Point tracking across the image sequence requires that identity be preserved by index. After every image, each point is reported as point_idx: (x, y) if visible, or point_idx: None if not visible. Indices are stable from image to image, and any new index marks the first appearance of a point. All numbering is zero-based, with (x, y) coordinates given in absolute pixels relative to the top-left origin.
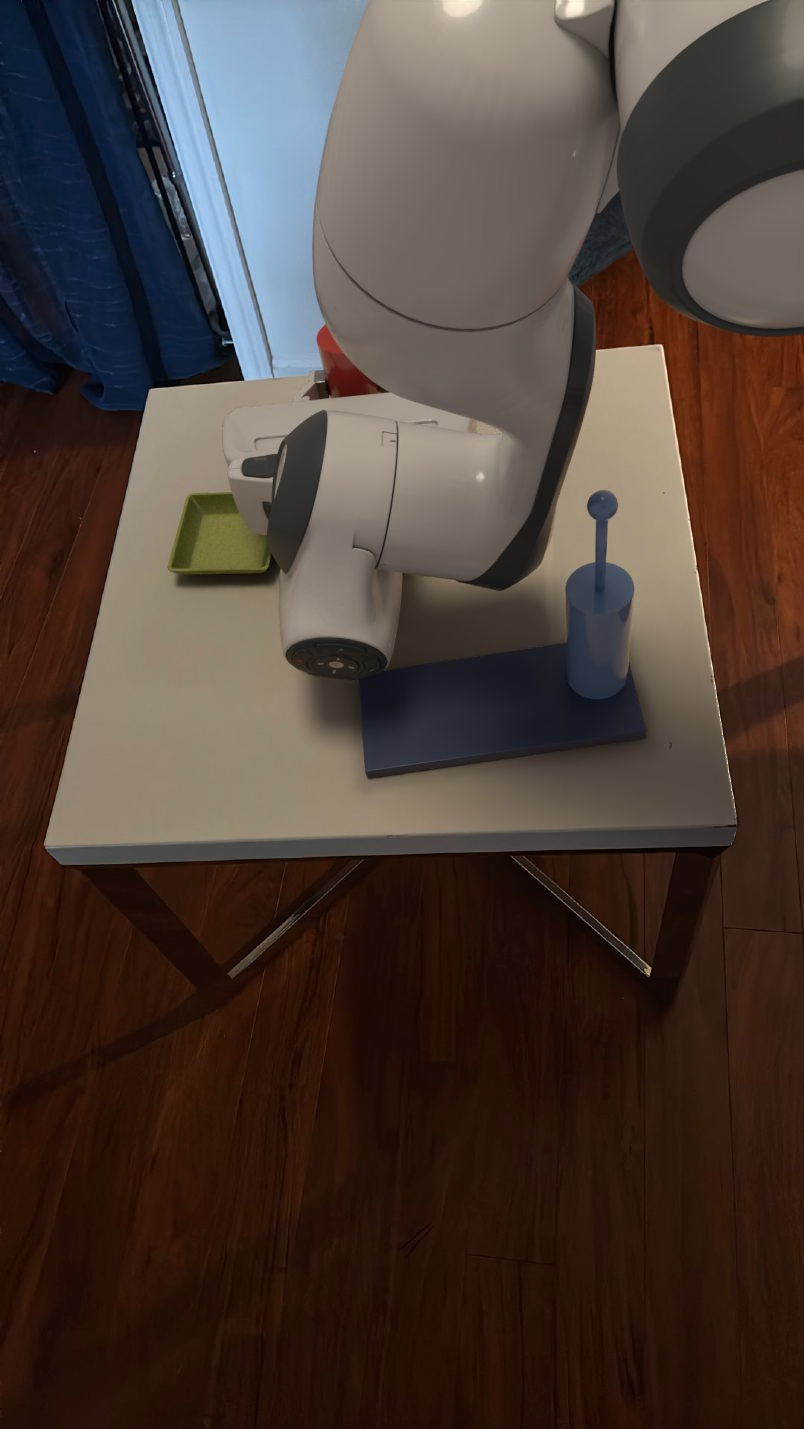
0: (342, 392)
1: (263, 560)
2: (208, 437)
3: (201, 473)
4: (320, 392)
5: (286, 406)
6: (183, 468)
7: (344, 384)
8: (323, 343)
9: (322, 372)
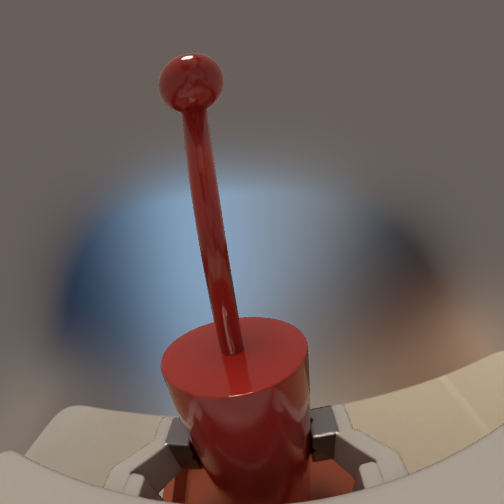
0: (227, 475)
1: None
2: (81, 449)
3: None
4: (181, 459)
5: (75, 493)
6: None
7: (232, 464)
8: (175, 367)
9: None
